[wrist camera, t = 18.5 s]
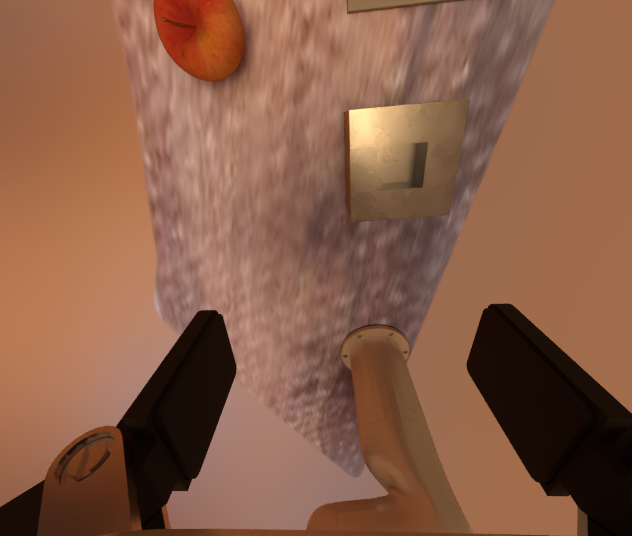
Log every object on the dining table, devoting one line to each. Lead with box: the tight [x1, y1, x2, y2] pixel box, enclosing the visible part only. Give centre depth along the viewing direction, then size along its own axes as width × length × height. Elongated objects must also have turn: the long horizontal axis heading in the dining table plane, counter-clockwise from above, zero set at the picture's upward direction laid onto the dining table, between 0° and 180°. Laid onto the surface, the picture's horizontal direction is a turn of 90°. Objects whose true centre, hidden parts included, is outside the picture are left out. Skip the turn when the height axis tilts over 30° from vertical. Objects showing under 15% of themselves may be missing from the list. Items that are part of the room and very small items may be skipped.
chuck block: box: [344, 99, 470, 222], centre depth 29 cm, size 11×11×6 cm
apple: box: [154, 0, 244, 81], centre depth 23 cm, size 7×7×8 cm
